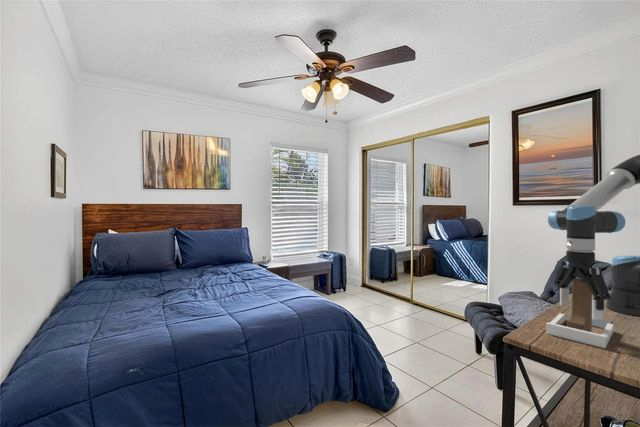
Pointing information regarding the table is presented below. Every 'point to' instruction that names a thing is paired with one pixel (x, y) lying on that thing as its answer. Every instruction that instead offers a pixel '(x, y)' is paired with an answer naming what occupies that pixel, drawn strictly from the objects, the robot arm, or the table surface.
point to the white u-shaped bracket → (579, 332)
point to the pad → (596, 322)
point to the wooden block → (581, 306)
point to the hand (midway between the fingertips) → (579, 312)
